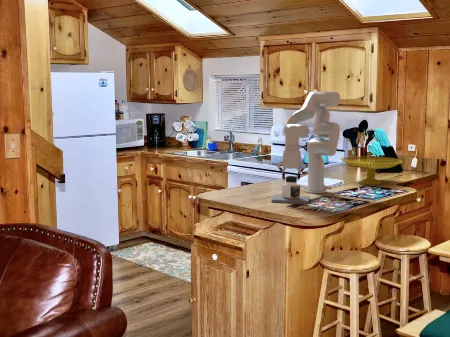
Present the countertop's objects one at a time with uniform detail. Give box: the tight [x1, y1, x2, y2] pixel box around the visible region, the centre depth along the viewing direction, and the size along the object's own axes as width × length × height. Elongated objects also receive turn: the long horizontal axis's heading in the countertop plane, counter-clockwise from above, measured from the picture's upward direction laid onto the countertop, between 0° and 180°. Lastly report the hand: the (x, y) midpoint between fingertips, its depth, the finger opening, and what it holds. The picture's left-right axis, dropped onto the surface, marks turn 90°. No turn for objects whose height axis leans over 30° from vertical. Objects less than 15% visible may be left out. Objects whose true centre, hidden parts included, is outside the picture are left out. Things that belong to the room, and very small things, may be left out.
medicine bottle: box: [281, 175, 301, 199], centre depth 329 cm, size 7×7×12 cm
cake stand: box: [340, 155, 404, 185], centre depth 390 cm, size 40×40×15 cm
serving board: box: [270, 194, 310, 205], centre depth 330 cm, size 20×14×2 cm
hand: (291, 179), depth 328 cm, fingers open, 7 cm apart
